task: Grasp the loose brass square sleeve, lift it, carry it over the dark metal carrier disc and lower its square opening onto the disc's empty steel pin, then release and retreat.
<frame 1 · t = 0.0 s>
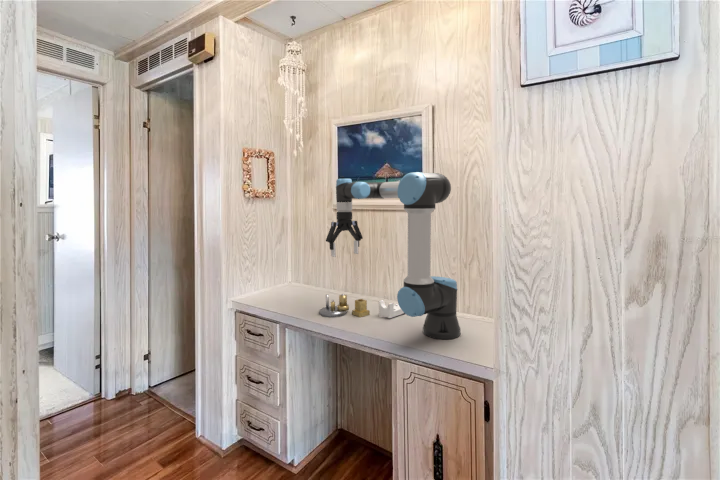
hand: (345, 255, 180), 28 cm above the table, fingers open, 13 cm apart
carrier: (333, 313, 180), on the table
bracket: (393, 315, 177), on the table
brass square sleeve: (360, 314, 178), on the table
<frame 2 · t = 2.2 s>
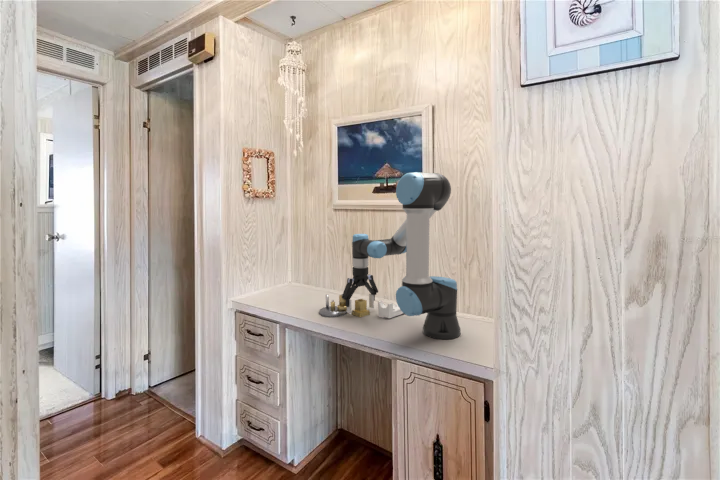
hand: (360, 310, 178), 2 cm above the table, fingers open, 13 cm apart
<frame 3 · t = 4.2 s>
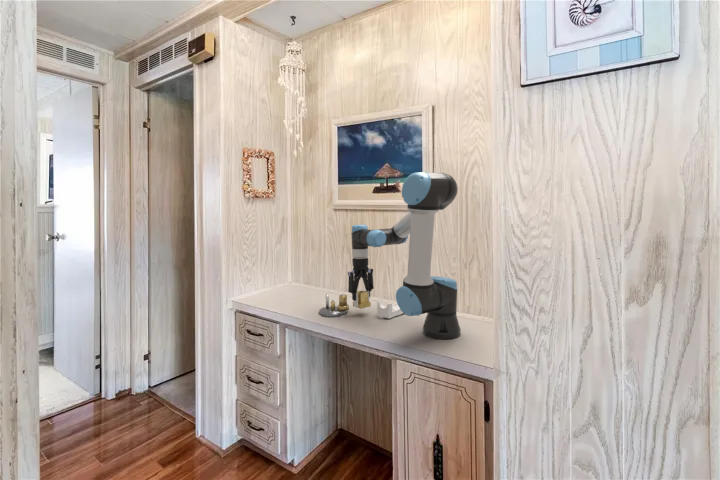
hand: (361, 305, 177), 5 cm above the table, fingers closed on brass square sleeve, 6 cm apart
brass square sleeve: (361, 306, 176), point 4 cm above the table, touching gripper
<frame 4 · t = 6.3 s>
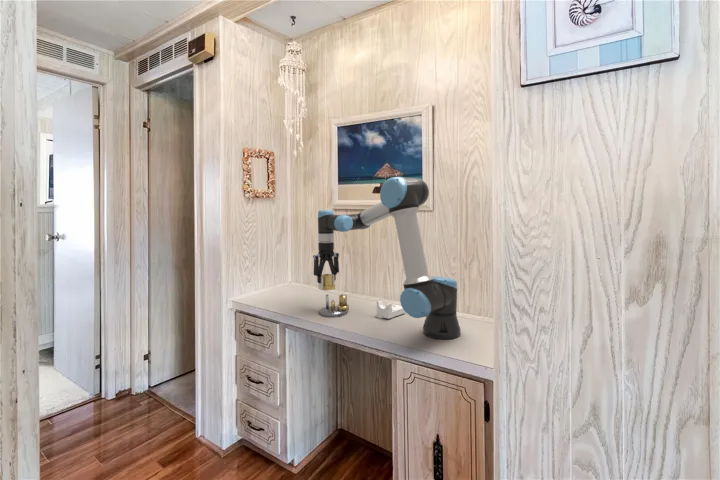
hand: (326, 288, 183), 11 cm above the table, fingers closed on brass square sleeve, 6 cm apart
brass square sleeve: (326, 288, 183), point 11 cm above the table, touching gripper
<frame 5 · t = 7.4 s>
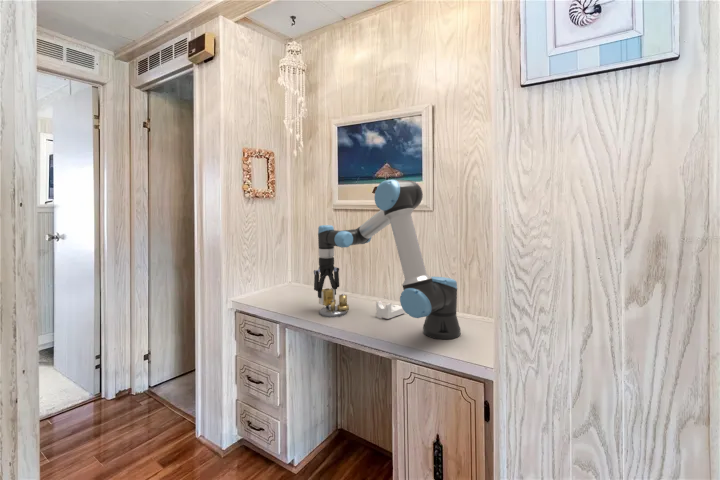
hand: (327, 302, 184), 4 cm above the table, fingers closed on brass square sleeve, 6 cm apart
brass square sleeve: (327, 303, 184), point 4 cm above the table, touching gripper
when the fingers open (3 cm above the table, at t = 8.3 s): brass square sleeve drops 1 cm, resting on carrier.
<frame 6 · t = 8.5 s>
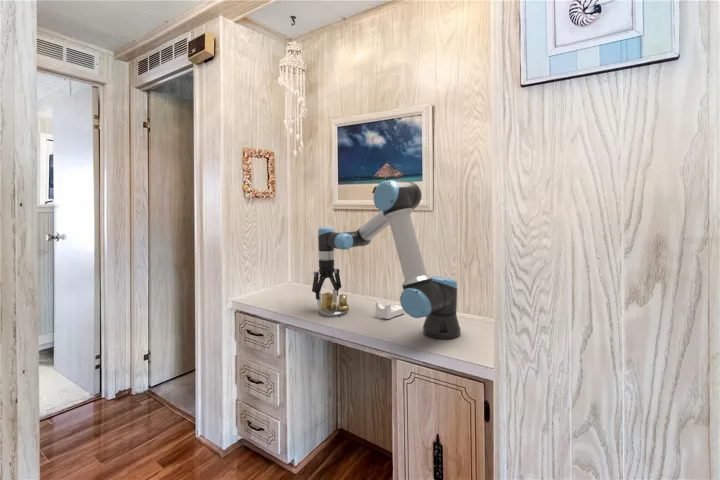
hand: (327, 304, 184), 3 cm above the table, fingers open, 8 cm apart
brass square sleeve: (327, 307, 184), point 1 cm above the table, touching carrier
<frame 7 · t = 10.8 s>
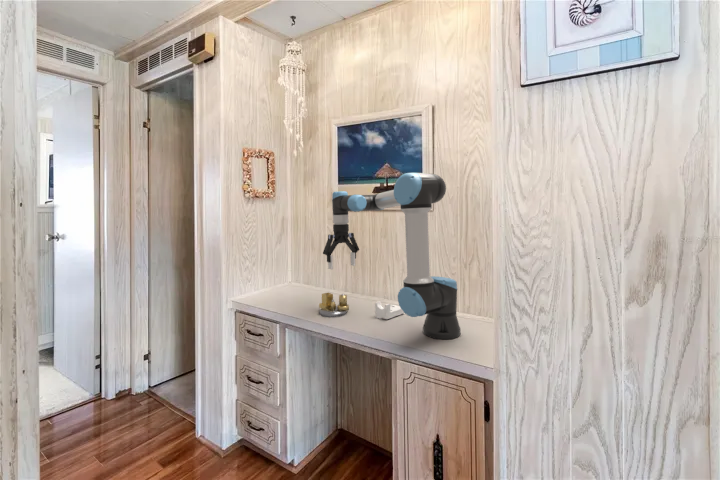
hand: (342, 267, 181), 22 cm above the table, fingers open, 13 cm apart
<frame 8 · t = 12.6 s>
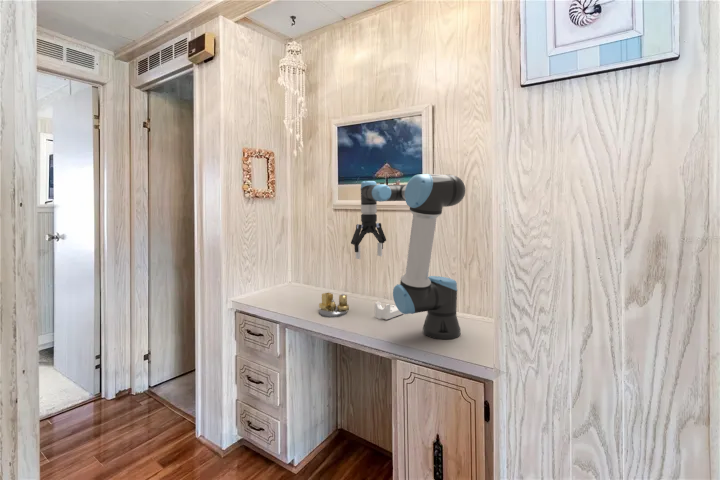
hand: (369, 257, 180), 27 cm above the table, fingers open, 13 cm apart
at the end: brass square sleeve 0.1 cm from the target spot on the carrier, point 1.5 cm above the carrier's base; brass square sleeve tilted 0°; the gripper is holding nothing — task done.
